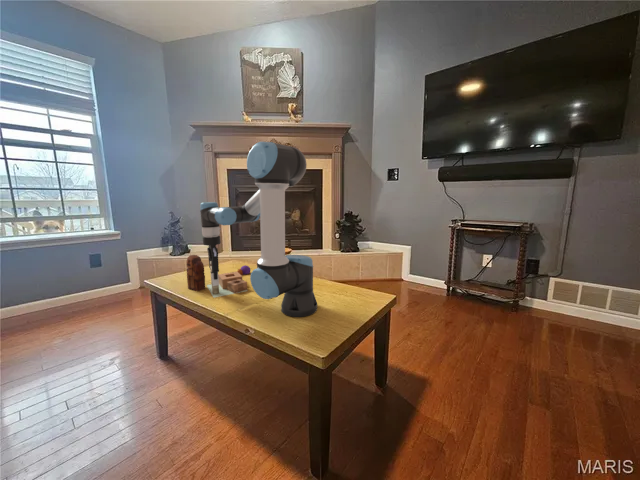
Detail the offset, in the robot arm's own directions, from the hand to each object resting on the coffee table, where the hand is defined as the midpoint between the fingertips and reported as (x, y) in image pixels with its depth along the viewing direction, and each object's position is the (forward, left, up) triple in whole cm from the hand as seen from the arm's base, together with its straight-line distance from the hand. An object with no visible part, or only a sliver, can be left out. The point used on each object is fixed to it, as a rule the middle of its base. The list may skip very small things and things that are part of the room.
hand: (215, 284), depth 124 cm
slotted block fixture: (+5, -6, -6) cm, 10 cm away
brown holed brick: (-1, -10, -5) cm, 11 cm away
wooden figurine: (+13, +7, -6) cm, 16 cm away
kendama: (+22, -15, -6) cm, 27 cm away
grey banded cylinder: (0, 0, -5) cm, 5 cm away
